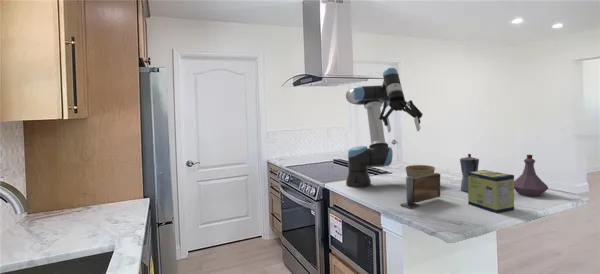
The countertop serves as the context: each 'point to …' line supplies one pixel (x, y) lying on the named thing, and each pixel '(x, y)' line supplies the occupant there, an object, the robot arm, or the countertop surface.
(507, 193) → the protein box
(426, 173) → the planter bowl
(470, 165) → the moka pot
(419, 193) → the gate
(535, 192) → the flask
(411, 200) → the gate post
